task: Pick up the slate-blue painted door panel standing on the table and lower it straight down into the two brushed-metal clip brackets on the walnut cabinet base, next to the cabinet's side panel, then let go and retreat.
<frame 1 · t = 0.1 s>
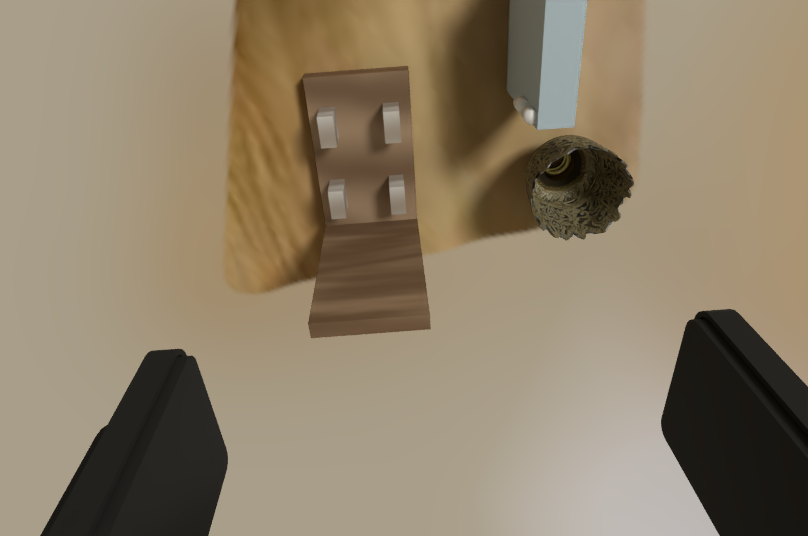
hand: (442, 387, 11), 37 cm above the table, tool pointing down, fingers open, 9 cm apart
door: (524, 22, 41), on the table
cabinet base: (364, 150, 46), on the table
cup: (552, 157, 47), on the table
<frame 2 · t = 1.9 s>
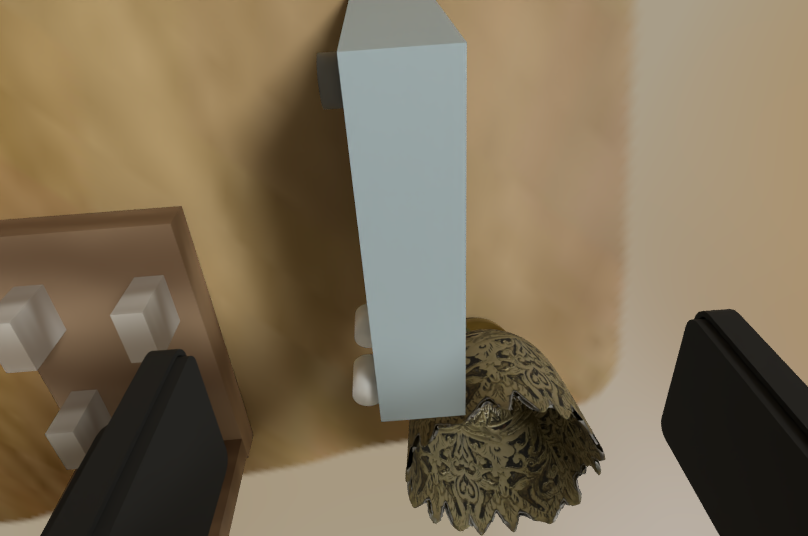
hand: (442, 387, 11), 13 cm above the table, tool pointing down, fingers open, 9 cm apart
door: (396, 129, 21), on the table
cabinet base: (135, 335, 26), on the table
cup: (471, 338, 27), on the table
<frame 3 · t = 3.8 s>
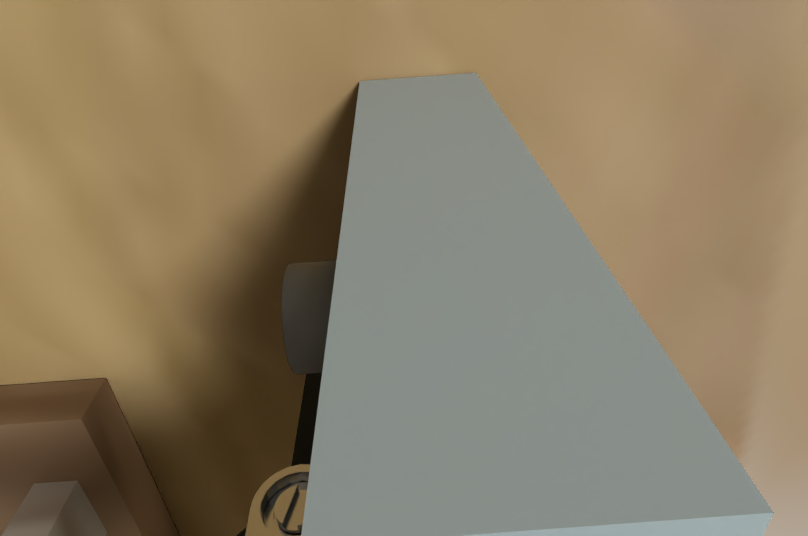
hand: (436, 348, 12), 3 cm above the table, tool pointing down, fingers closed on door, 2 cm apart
door: (427, 280, 14), on the table, touching gripper
cabinet base: (54, 529, 19), on the table
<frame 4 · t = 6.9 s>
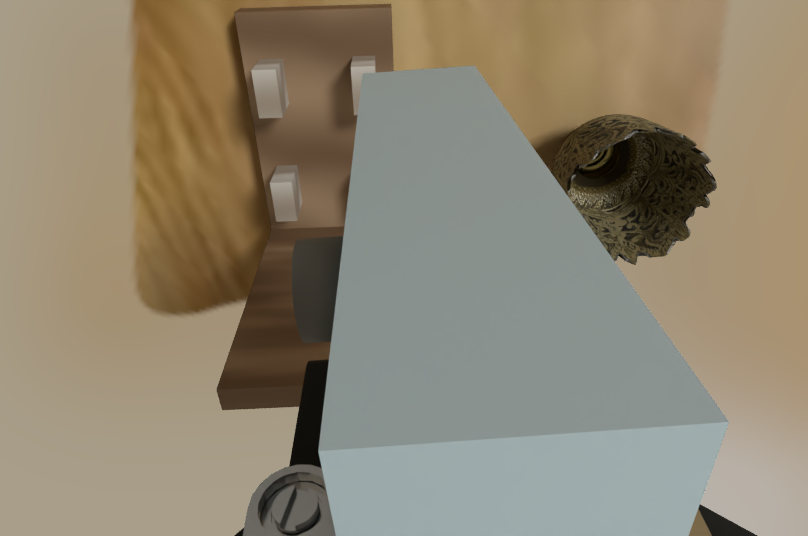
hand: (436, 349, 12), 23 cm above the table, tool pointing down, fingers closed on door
door: (427, 268, 14), point 20 cm above the table, touching gripper
cabinet base: (327, 125, 33), on the table
cup: (587, 147, 34), on the table
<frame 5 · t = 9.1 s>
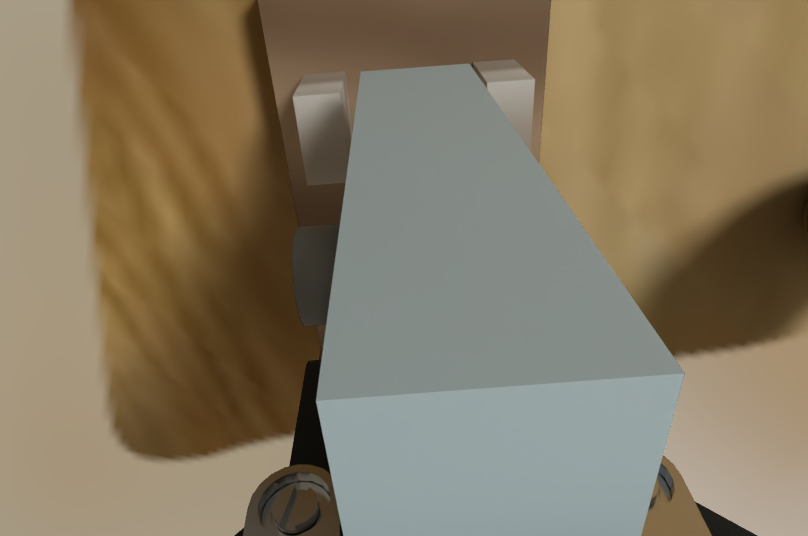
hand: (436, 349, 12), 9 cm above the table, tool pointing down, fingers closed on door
door: (425, 261, 15), point 5 cm above the table, touching gripper
cabinet base: (413, 181, 19), on the table
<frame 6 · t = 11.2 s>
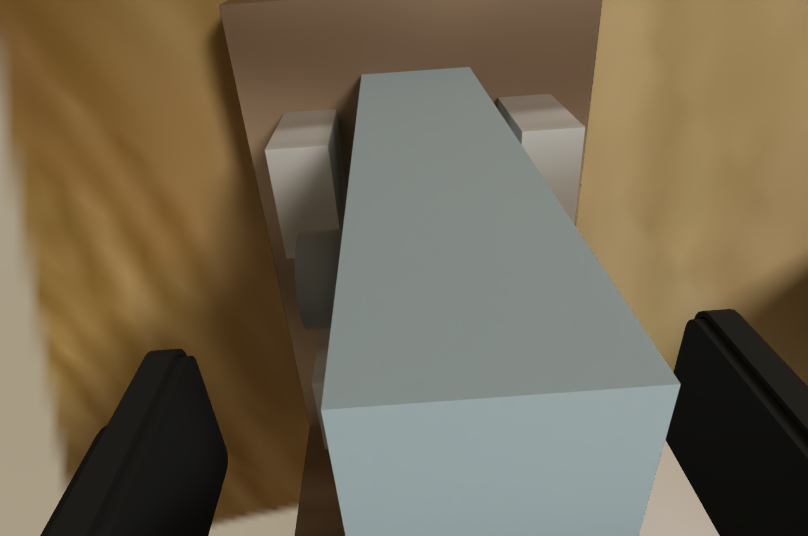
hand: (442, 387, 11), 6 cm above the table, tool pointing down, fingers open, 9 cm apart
door: (424, 263, 15), point 1 cm above the table, touching cabinet base
cabinet base: (421, 234, 16), on the table
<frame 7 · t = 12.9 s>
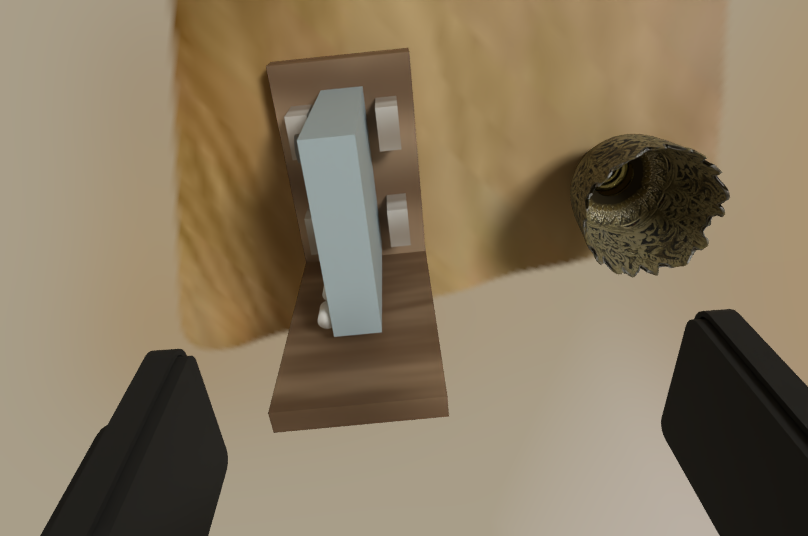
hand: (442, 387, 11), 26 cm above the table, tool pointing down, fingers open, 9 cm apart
door: (353, 172, 34), point 1 cm above the table, touching cabinet base
cabinet base: (354, 162, 35), on the table
cup: (602, 166, 36), on the table
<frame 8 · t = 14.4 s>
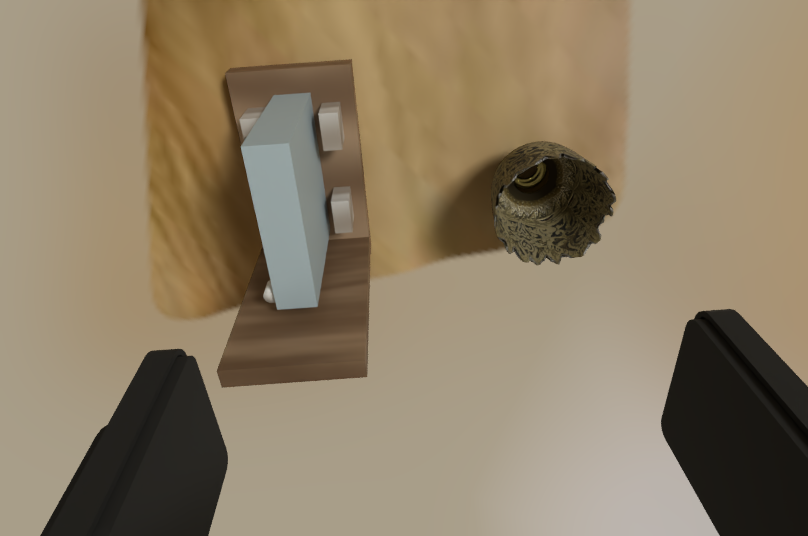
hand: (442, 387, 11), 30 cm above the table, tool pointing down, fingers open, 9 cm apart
door: (303, 166, 38), point 1 cm above the table, touching cabinet base
cabinet base: (306, 157, 40), on the table
cup: (525, 167, 41), on the table
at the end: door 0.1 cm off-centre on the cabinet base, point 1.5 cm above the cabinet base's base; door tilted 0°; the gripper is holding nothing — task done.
